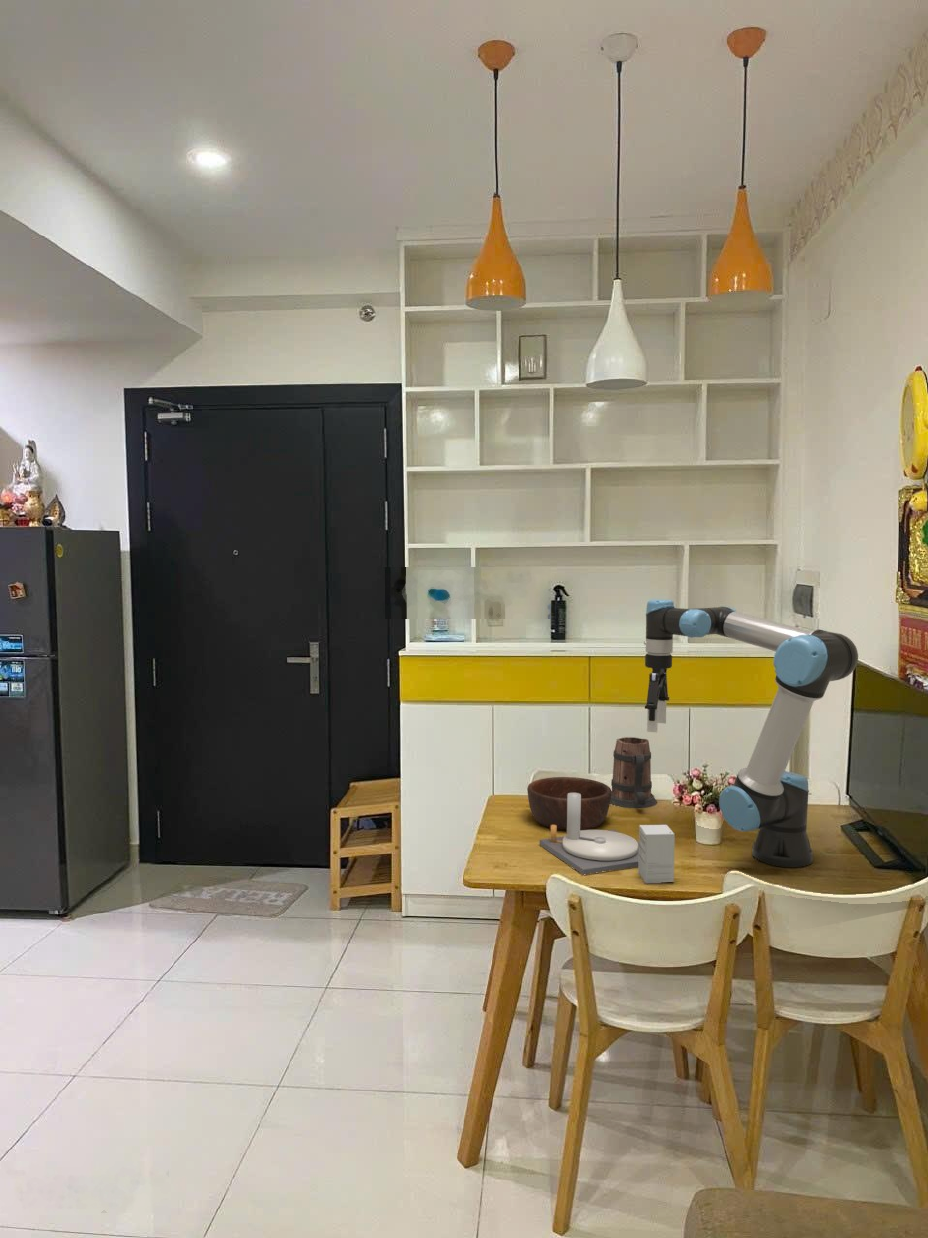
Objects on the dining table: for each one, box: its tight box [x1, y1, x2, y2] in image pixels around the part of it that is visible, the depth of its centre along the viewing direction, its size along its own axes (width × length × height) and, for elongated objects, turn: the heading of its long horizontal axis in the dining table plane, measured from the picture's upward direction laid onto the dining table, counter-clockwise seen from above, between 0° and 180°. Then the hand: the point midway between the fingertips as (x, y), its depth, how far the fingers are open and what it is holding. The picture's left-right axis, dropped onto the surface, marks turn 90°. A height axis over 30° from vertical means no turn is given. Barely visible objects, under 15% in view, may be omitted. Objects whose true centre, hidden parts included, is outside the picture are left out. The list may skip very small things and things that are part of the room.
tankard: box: [610, 736, 658, 809], centre depth 283 cm, size 24×17×20 cm
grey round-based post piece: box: [563, 793, 639, 861], centre depth 237 cm, size 20×20×14 cm
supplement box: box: [637, 824, 676, 884], centre depth 220 cm, size 7×7×13 cm
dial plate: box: [539, 825, 639, 876], centre depth 237 cm, size 24×24×6 cm
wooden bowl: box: [527, 776, 612, 831], centre depth 265 cm, size 25×25×10 cm
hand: (656, 727), depth 253 cm, fingers open, 13 cm apart
